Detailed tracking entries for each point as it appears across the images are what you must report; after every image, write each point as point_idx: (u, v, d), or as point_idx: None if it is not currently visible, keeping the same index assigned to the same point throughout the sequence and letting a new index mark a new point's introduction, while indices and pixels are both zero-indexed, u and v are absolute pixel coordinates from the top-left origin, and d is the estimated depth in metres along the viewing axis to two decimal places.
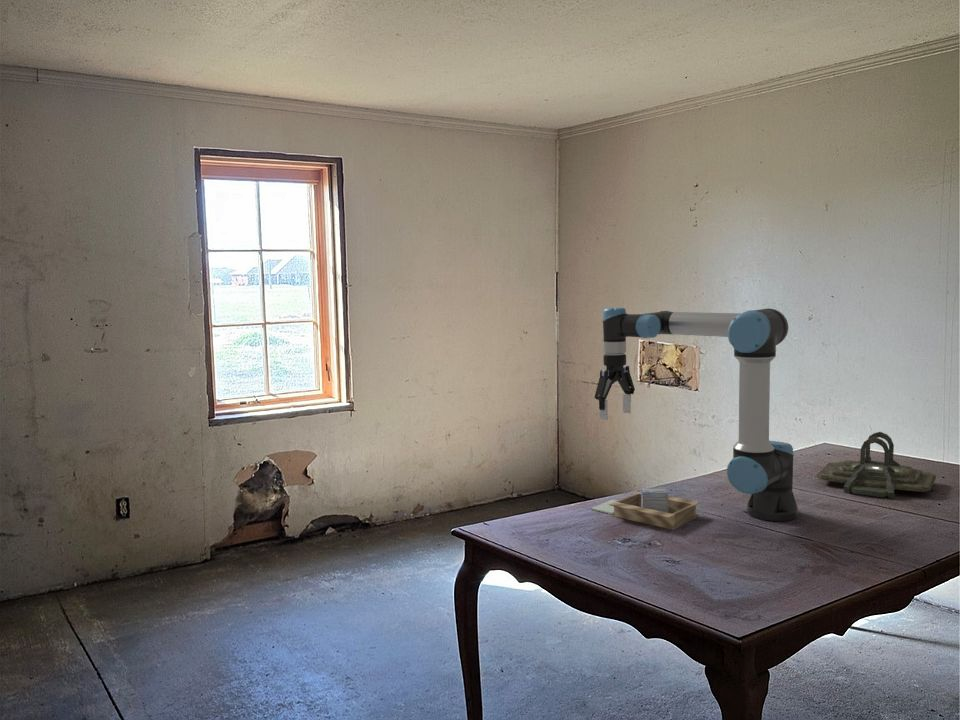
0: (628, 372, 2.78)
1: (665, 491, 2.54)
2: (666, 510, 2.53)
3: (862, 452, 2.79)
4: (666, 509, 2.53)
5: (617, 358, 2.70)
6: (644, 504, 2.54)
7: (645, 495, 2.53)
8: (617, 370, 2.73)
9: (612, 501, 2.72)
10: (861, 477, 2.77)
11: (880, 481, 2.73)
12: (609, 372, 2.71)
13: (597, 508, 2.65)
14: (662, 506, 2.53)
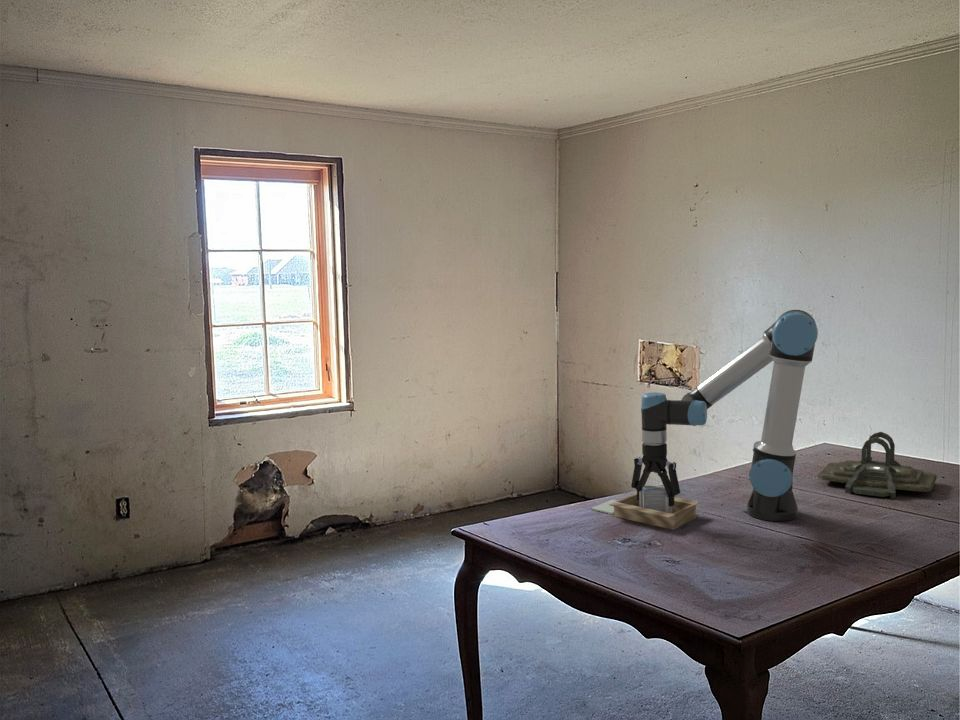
0: (669, 470, 2.49)
1: None
2: None
3: (863, 452, 2.79)
4: None
5: (642, 447, 2.53)
6: (645, 501, 2.54)
7: (646, 492, 2.53)
8: (652, 460, 2.53)
9: (612, 501, 2.72)
10: (862, 477, 2.77)
11: (881, 481, 2.73)
12: (641, 459, 2.56)
13: (597, 508, 2.65)
14: (663, 502, 2.53)
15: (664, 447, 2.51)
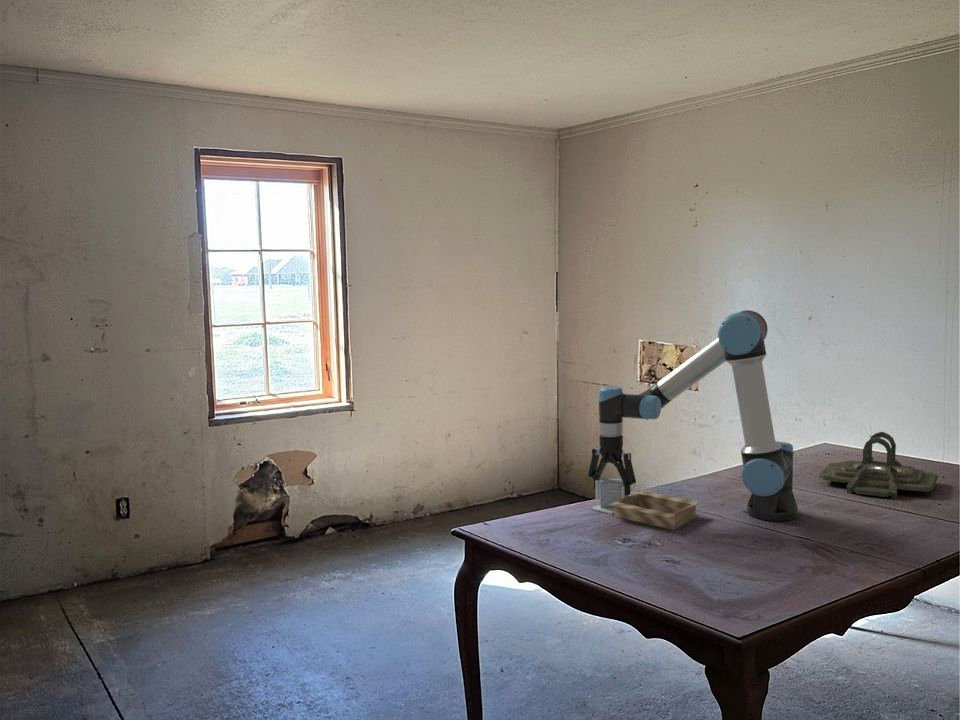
0: (625, 461, 2.60)
1: (622, 481, 2.65)
2: None
3: (864, 452, 2.79)
4: None
5: (599, 438, 2.64)
6: (601, 493, 2.65)
7: (602, 484, 2.64)
8: (609, 451, 2.64)
9: None
10: (864, 477, 2.77)
11: (883, 481, 2.73)
12: (599, 450, 2.67)
13: (597, 508, 2.65)
14: (618, 494, 2.64)
15: (620, 439, 2.61)
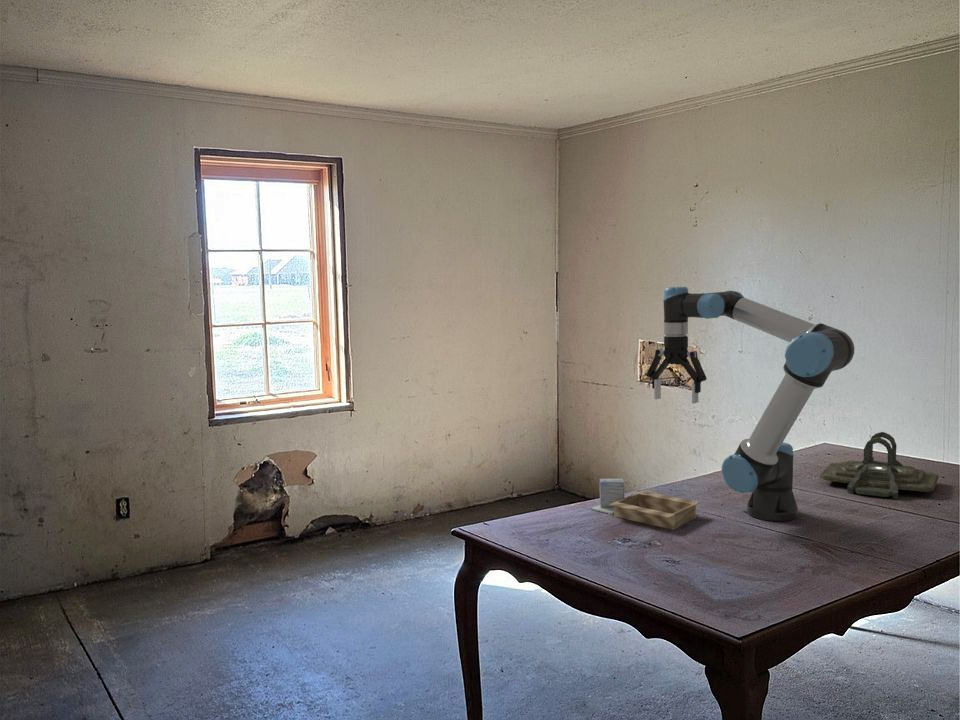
0: (692, 358, 2.56)
1: (622, 481, 2.65)
2: None
3: (865, 452, 2.79)
4: None
5: (664, 339, 2.60)
6: (601, 493, 2.65)
7: (602, 484, 2.64)
8: (673, 352, 2.61)
9: None
10: (864, 477, 2.77)
11: (884, 481, 2.73)
12: (663, 352, 2.64)
13: (597, 508, 2.65)
14: (618, 494, 2.64)
15: (685, 338, 2.58)
